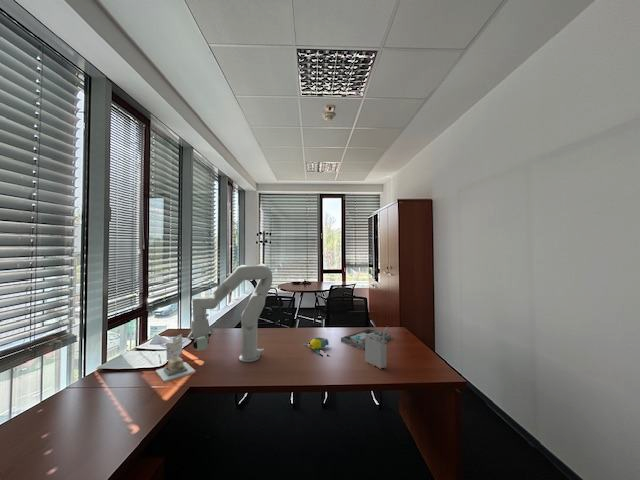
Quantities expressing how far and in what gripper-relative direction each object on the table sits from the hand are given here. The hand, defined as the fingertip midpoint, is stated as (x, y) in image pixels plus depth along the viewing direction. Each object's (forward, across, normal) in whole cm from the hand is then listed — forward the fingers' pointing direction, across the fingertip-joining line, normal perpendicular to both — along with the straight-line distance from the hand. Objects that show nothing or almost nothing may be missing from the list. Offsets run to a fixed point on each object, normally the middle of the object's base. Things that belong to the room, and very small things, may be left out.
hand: (201, 346), depth 174 cm
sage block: (+1, 0, 0) cm, 1 cm away
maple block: (+8, +16, +4) cm, 18 cm away
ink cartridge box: (+9, +11, -15) cm, 20 cm away
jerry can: (+14, -74, +76) cm, 107 cm away
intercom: (+15, -107, +44) cm, 116 cm away
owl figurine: (+13, -65, +34) cm, 74 cm away
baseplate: (+9, +16, +4) cm, 19 cm away
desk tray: (+14, -104, +45) cm, 114 cm away
